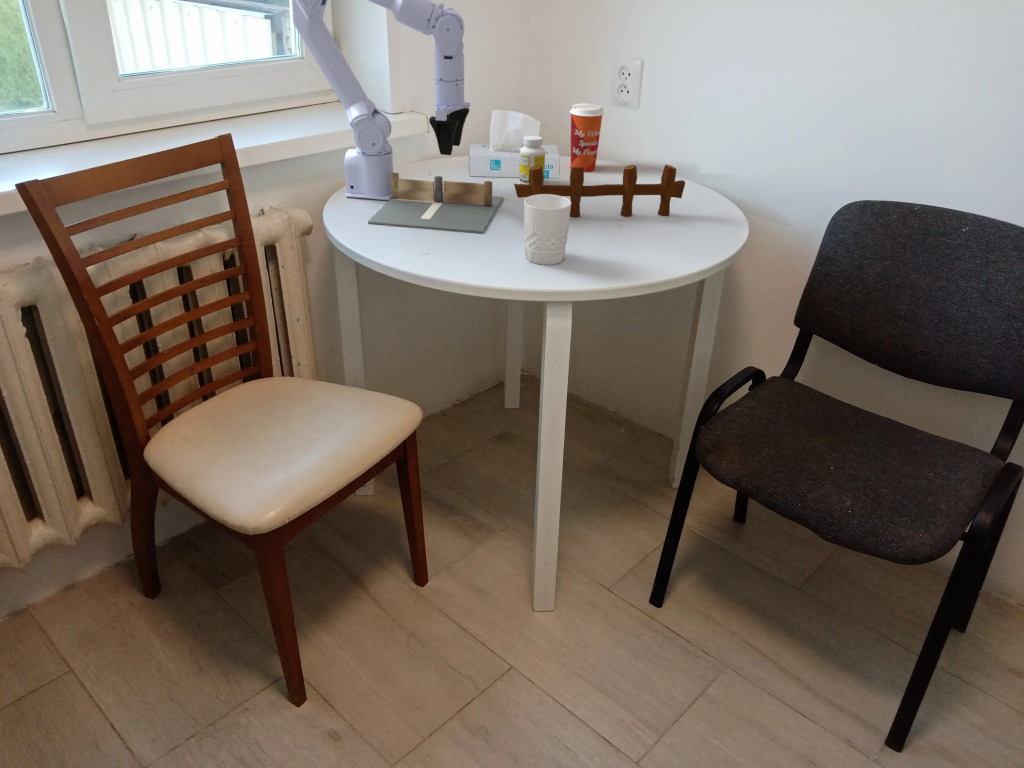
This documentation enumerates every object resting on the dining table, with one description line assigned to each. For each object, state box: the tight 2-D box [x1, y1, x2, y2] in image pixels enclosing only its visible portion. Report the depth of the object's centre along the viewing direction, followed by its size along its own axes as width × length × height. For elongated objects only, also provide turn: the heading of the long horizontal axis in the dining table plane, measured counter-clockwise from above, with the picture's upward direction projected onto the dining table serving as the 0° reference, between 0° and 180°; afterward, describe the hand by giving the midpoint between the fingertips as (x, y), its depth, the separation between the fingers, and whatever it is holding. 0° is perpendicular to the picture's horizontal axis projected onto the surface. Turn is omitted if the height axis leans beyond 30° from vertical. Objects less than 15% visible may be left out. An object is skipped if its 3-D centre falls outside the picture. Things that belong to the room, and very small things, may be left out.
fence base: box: [391, 172, 444, 203], centre depth 159 cm, size 11×2×5 cm, turn 80°
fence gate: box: [443, 180, 493, 206], centre depth 158 cm, size 10×2×5 cm, turn 80°
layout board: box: [367, 190, 504, 235], centre depth 156 cm, size 22×21×1 cm
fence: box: [513, 164, 686, 219], centre depth 154 cm, size 34×3×10 cm, turn 97°
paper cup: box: [569, 102, 605, 173], centre depth 181 cm, size 8×8×14 cm
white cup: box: [523, 194, 571, 266], centre depth 134 cm, size 8×8×10 cm
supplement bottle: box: [519, 135, 546, 185], centre depth 171 cm, size 5×5×10 cm
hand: (450, 149), depth 160 cm, fingers open, 7 cm apart
